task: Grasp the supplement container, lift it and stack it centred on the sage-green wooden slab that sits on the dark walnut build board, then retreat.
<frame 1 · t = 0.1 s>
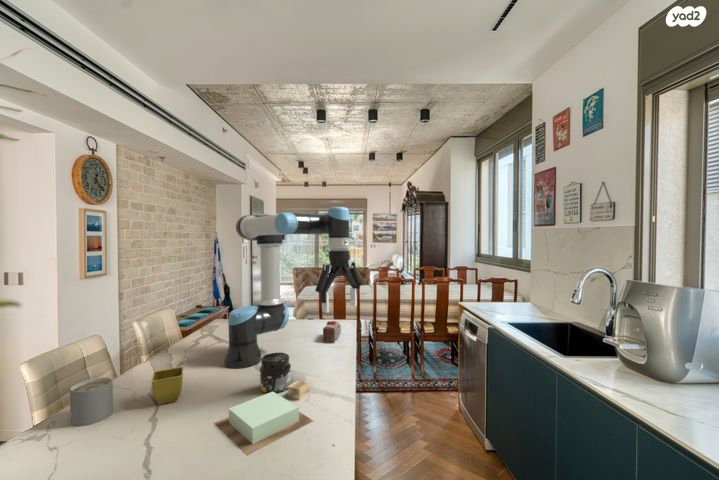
hand: (340, 308, 116), 28 cm above the table, fingers open, 13 cm apart
coffee mug: (96, 414, 100), on the table
supplement container: (275, 391, 113), on the table
food item: (332, 339, 171), on the table
flower pot: (168, 400, 108), on the table
pedestal slab: (263, 421, 91), point 1 cm above the table, touching build board
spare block: (298, 399, 107), on the table
build board: (264, 427, 91), on the table
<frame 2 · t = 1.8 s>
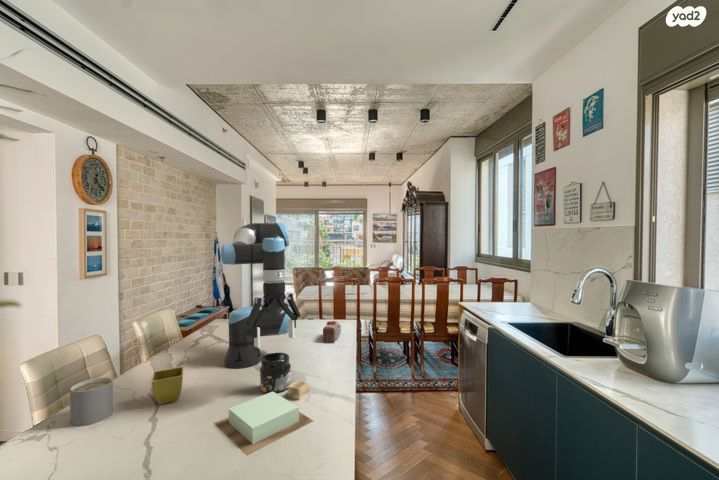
hand: (275, 342, 113), 17 cm above the table, fingers open, 13 cm apart
nothing on the table moved.
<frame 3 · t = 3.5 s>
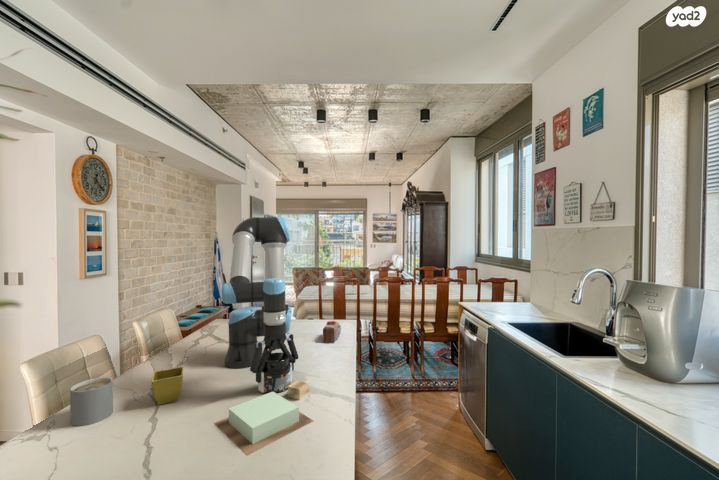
hand: (275, 385, 113), 2 cm above the table, fingers closed on supplement container, 10 cm apart
supplement container: (275, 391, 113), on the table, touching gripper
everything else where it was.
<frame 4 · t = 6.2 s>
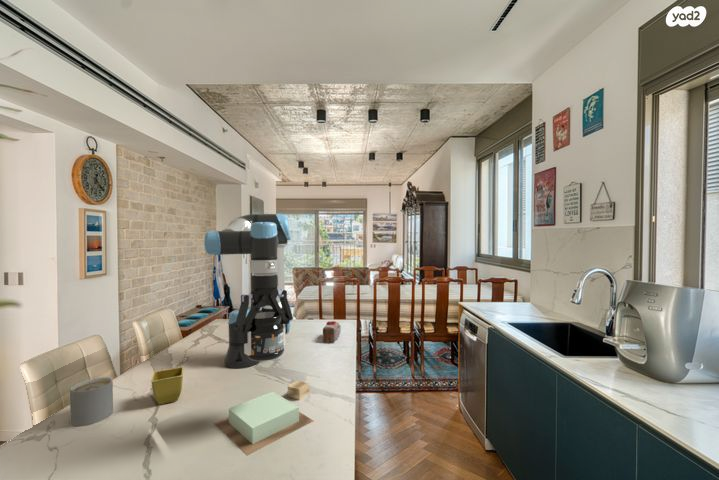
hand: (265, 349, 95), 21 cm above the table, fingers closed on supplement container, 10 cm apart
supplement container: (265, 356, 95), point 19 cm above the table, touching gripper
everything else where it was.
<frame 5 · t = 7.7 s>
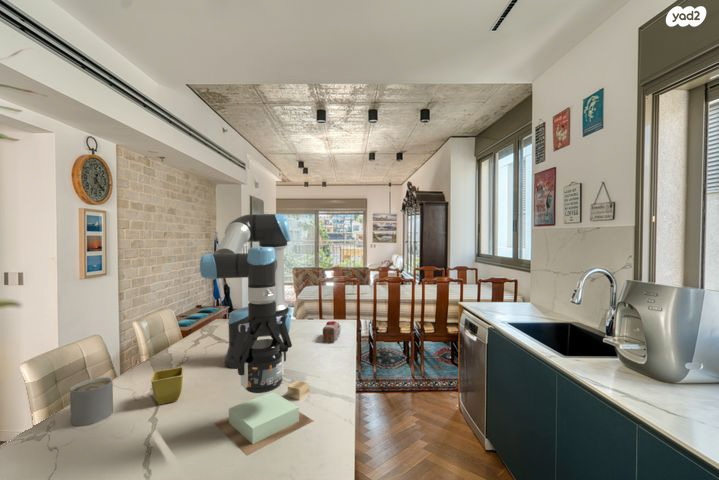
hand: (263, 379, 91), 14 cm above the table, fingers closed on supplement container, 10 cm apart
supplement container: (263, 386, 91), point 12 cm above the table, touching gripper
everything else where it was.
when the fingers open (9 cm above the table, at t = 9.1 s): supplement container drops 2 cm, resting on pedestal slab.
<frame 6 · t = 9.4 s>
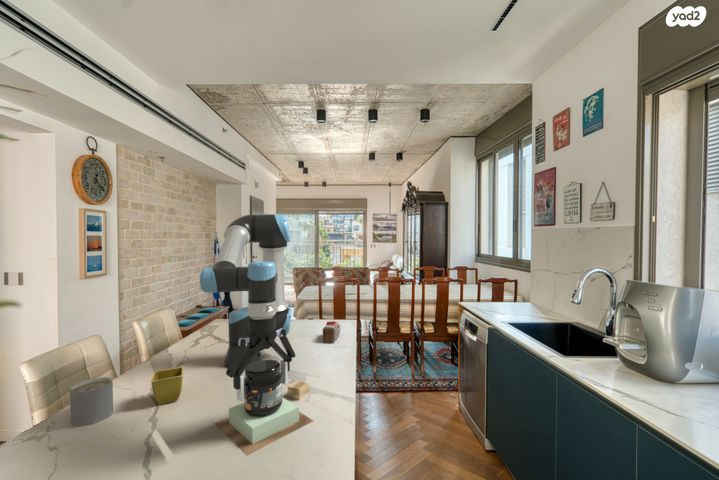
hand: (263, 391, 91), 10 cm above the table, fingers open, 13 cm apart
supplement container: (263, 408, 91), point 5 cm above the table, touching pedestal slab
pedestal slab: (263, 421, 91), point 1 cm above the table, touching build board, supplement container
everything else where it was.
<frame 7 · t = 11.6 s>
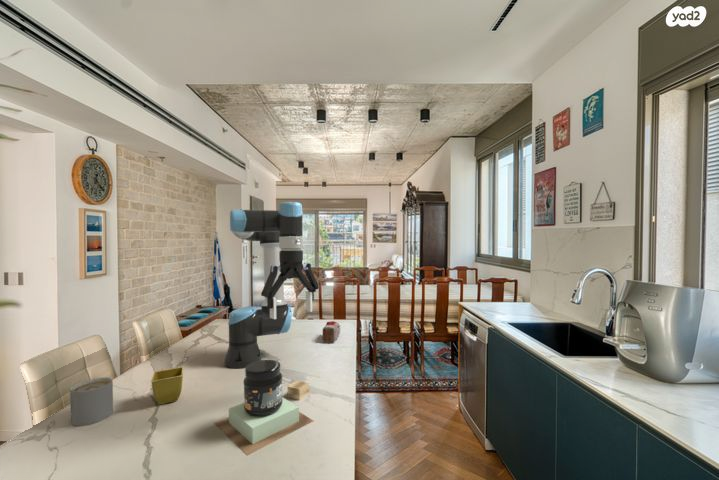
hand: (291, 314, 105), 29 cm above the table, fingers open, 13 cm apart
nothing on the table moved.
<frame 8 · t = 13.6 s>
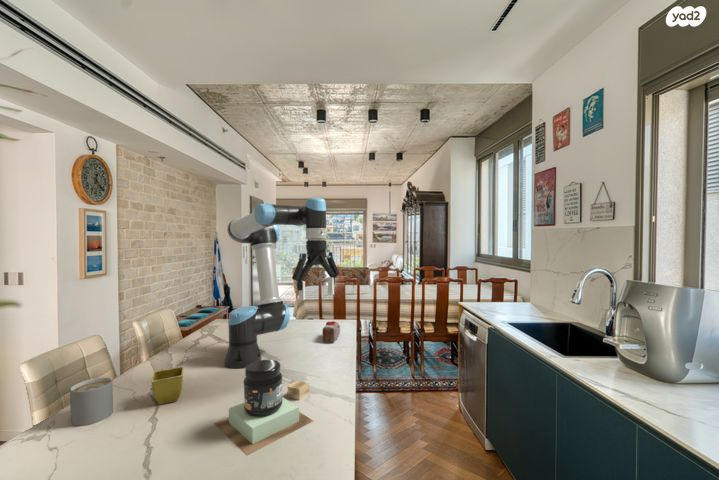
hand: (317, 296, 120), 32 cm above the table, fingers open, 13 cm apart
nothing on the table moved.
at the end: supplement container inside the target area on the pedestal slab (0.1 cm from its centre), point 3.8 cm above the pedestal slab's base; supplement container tilted 0°; the gripper is holding nothing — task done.
